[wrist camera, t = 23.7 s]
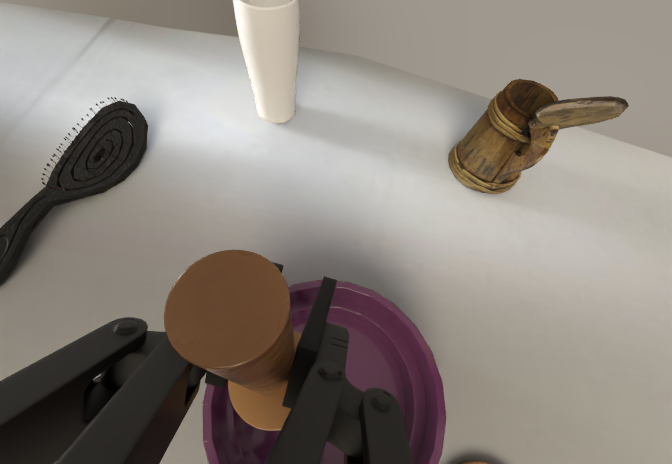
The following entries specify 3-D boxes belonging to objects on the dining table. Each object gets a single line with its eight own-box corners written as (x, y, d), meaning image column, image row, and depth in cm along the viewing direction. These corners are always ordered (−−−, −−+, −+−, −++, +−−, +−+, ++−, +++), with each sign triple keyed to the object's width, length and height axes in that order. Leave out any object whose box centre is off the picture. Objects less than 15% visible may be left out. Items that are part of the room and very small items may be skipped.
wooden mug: (457, 221, 39) (560, 92, 23) (445, 140, 46) (518, -3, 30) (528, 228, 39) (677, 106, 24) (506, 146, 46) (610, 9, 30)
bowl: (267, 583, 22) (256, 635, 17) (197, 351, 29) (173, 337, 24) (458, 445, 27) (494, 453, 22) (359, 275, 34) (369, 250, 29)
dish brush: (257, 445, 20) (102, 560, 4) (228, 363, 22) (54, 244, 7) (334, 400, 22) (416, 367, 6) (300, 327, 24) (296, 164, 8)
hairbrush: (-94, 271, 28) (94, 86, 39) (-51, 284, 31) (110, 110, 42) (-11, 303, 27) (156, 106, 38) (24, 312, 31) (168, 128, 42)
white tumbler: (266, 90, 47) (251, -32, 34) (308, 105, 47) (310, -15, 34) (243, 119, 44) (217, -4, 31) (288, 135, 43) (281, 16, 30)
